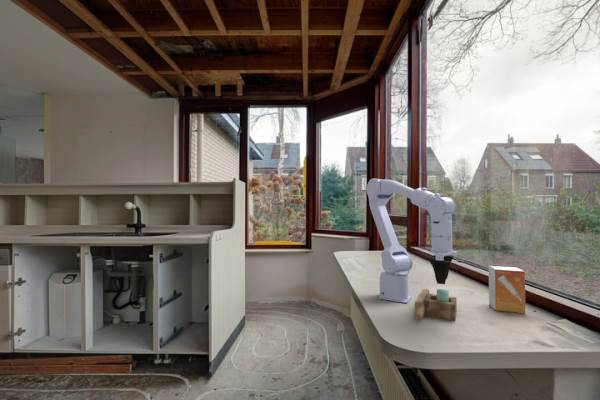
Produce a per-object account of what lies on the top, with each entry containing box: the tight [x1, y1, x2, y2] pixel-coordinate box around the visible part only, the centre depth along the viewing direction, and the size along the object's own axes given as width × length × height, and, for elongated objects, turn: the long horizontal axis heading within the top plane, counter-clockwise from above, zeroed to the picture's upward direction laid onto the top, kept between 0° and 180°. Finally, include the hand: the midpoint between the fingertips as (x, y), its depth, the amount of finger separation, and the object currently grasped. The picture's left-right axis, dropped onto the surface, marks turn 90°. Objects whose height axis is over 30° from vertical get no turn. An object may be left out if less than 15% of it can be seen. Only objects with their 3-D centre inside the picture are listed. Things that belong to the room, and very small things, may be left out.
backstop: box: [414, 288, 430, 321], centre depth 88 cm, size 2×15×5 cm, turn 149°
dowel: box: [436, 288, 450, 302], centre depth 86 cm, size 3×3×7 cm
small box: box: [488, 265, 526, 314], centre depth 91 cm, size 8×6×13 cm
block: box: [424, 293, 458, 322], centre depth 86 cm, size 8×8×4 cm
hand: (442, 280), depth 86 cm, fingers open, 7 cm apart
